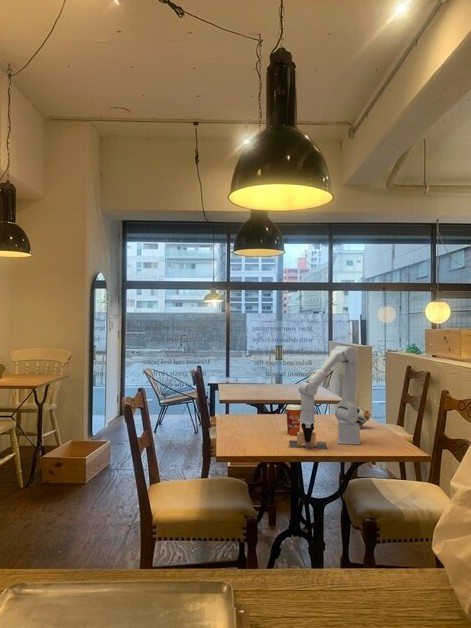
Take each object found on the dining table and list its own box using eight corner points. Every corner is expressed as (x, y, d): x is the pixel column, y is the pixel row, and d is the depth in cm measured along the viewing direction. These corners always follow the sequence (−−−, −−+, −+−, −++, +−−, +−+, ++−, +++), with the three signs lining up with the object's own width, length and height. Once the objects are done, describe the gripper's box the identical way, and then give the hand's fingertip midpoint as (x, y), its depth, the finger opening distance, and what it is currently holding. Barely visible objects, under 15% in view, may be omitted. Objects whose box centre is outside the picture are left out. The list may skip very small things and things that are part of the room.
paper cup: (289, 436, 208) (289, 407, 208) (283, 433, 215) (283, 404, 215) (304, 435, 210) (304, 406, 210) (297, 432, 217) (297, 404, 218)
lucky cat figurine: (360, 423, 238) (370, 403, 233) (365, 437, 226) (376, 416, 221) (334, 416, 236) (344, 395, 232) (338, 429, 225) (349, 408, 220)
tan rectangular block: (315, 446, 191) (315, 432, 191) (315, 448, 188) (315, 434, 188) (296, 445, 192) (297, 431, 192) (297, 447, 189) (297, 433, 189)
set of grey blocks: (325, 446, 191) (325, 441, 191) (326, 448, 187) (326, 444, 187) (289, 444, 193) (289, 440, 193) (289, 447, 189) (289, 442, 189)
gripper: (298, 406, 198) (298, 436, 197) (298, 412, 184) (298, 444, 183) (313, 407, 197) (313, 437, 197) (315, 413, 183) (315, 445, 182)
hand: (307, 441), depth 190 cm, fingers closed on tan rectangular block, 3 cm apart
